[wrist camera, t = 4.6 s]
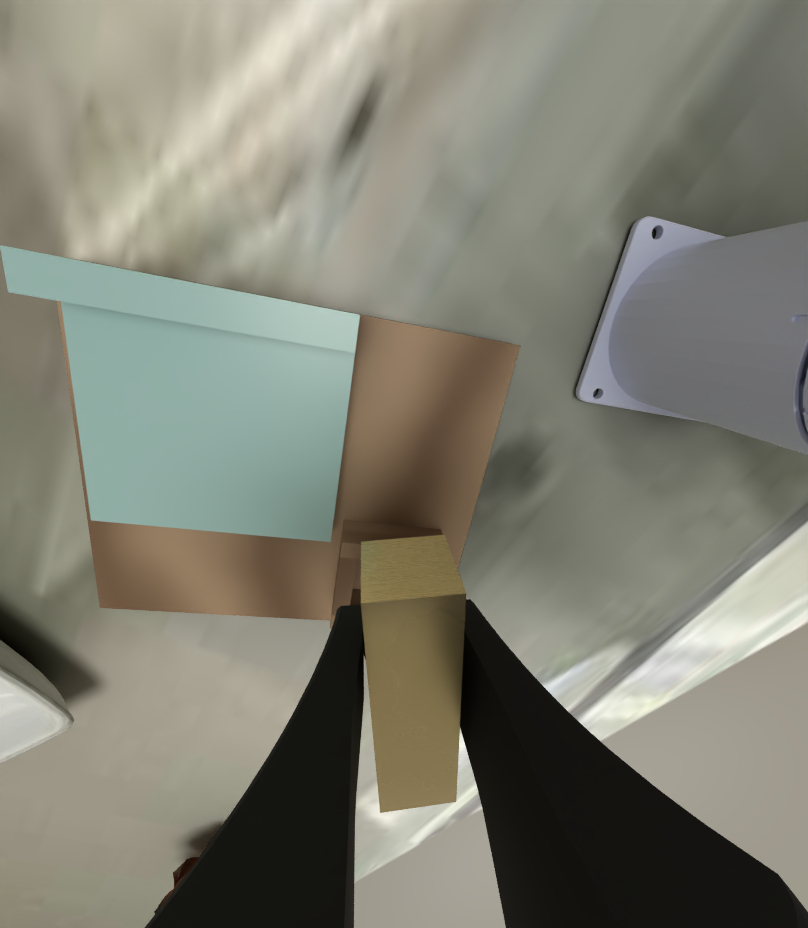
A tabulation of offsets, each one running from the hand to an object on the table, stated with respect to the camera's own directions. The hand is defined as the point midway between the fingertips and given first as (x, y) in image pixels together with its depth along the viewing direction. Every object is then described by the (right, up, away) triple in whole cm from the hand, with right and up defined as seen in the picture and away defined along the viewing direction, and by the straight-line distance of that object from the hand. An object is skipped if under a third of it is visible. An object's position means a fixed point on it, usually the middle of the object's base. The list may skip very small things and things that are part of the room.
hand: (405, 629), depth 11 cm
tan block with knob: (0, +1, +2) cm, 3 cm away
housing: (-5, +4, +8) cm, 11 cm away
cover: (-8, +7, +5) cm, 11 cm away
